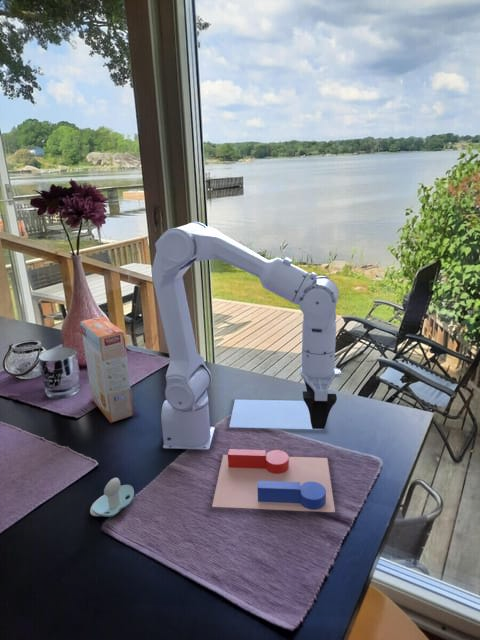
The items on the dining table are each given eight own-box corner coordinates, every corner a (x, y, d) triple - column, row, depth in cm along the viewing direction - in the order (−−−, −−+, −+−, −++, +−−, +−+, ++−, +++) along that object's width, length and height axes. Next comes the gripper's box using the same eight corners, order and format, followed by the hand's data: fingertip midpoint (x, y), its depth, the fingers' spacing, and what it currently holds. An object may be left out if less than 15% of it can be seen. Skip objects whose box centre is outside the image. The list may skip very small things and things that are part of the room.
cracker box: (135, 416, 101) (125, 330, 94) (110, 424, 98) (97, 337, 91) (115, 392, 112) (104, 314, 106) (91, 399, 109) (78, 320, 102)
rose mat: (212, 509, 73) (211, 506, 73) (223, 456, 86) (223, 454, 86) (335, 515, 71) (335, 512, 70) (327, 460, 84) (327, 457, 84)
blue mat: (229, 429, 95) (228, 427, 95) (235, 401, 106) (234, 399, 106) (323, 432, 93) (323, 429, 93) (319, 403, 104) (319, 400, 104)
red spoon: (227, 472, 81) (226, 459, 80) (230, 457, 85) (229, 444, 84) (288, 474, 79) (289, 461, 79) (288, 459, 84) (288, 446, 83)
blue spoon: (257, 507, 72) (257, 493, 71) (258, 488, 76) (258, 475, 75) (326, 510, 71) (327, 496, 70) (324, 491, 75) (325, 477, 74)
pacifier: (82, 514, 73) (105, 528, 69) (75, 482, 71) (99, 496, 68) (116, 488, 78) (140, 500, 75) (111, 458, 77) (135, 469, 73)
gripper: (347, 366, 69) (343, 439, 74) (336, 333, 83) (334, 397, 87) (302, 365, 70) (301, 438, 74) (299, 333, 84) (298, 396, 88)
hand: (316, 416), depth 81 cm, fingers open, 7 cm apart
